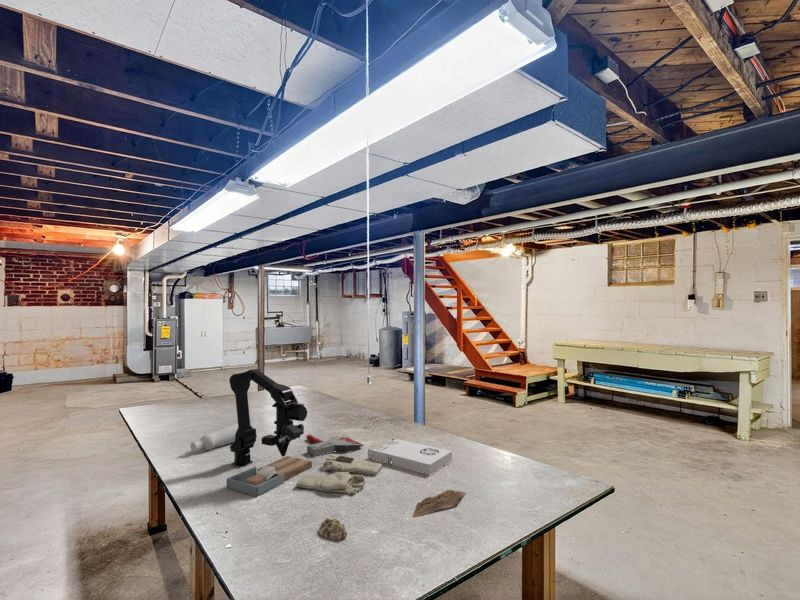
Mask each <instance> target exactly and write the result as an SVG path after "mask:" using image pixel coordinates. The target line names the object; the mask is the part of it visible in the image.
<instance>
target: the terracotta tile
mask: <svg viewBox="0 0 800 600" xmlns="http://www.w3.org/2000/svg"><path fill="white" fill-rule="evenodd" d="M264 482H266V477H265V476H260V475H254V476H252V477H250V478H248V479H246V483H248V484H251V485H255V486H258V485H260V484H262V483H264Z"/></svg>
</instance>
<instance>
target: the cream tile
mask: <svg viewBox="0 0 800 600" xmlns="http://www.w3.org/2000/svg"><path fill="white" fill-rule="evenodd" d="M262 467H263V468H261V467H260V468H261V469H260V470H259V471H258V472H257V473H256V475H260V476H265V477H266V480H268V479H269V478H271V477H272V476H273V475H274V474H275V473H276V471H275V467H270V466H266V465H263V466H262Z"/></svg>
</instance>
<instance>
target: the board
mask: <svg viewBox="0 0 800 600" xmlns="http://www.w3.org/2000/svg"><path fill="white" fill-rule="evenodd" d="M265 466H270V467H275V471H276V473H275V474H274V475H273V476H272V477H271V478H274V477H276V476H278V475H281V474H284V482H286V481H288V480H290V479H292V478H293V477H296V476H298V475H299V474H301V473H303V472H306V471H307V470H309V469H311V468H313V462H312V460H308V459H307V460H306V459H304V458H299V457H295V456H290V455H285V456H284V457H282V458H280V459H278V460H275V461H273V462H270V463H268V464H266V465H265ZM263 467H264V466H262V467H259V468H257V472H258V471H259V470H260V469H261V468H263Z"/></svg>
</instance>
